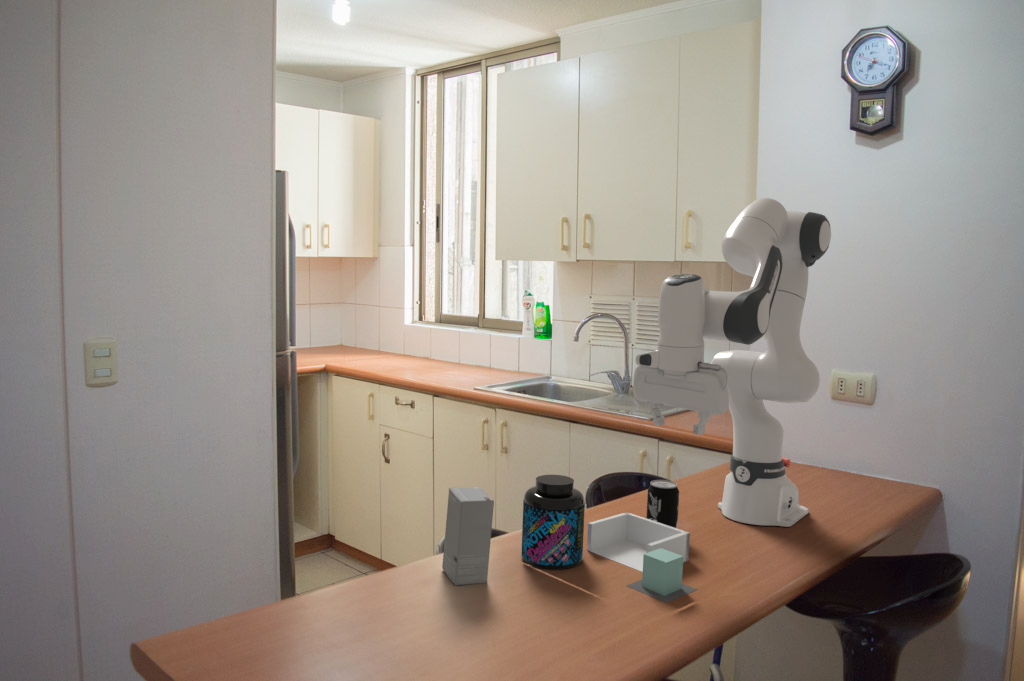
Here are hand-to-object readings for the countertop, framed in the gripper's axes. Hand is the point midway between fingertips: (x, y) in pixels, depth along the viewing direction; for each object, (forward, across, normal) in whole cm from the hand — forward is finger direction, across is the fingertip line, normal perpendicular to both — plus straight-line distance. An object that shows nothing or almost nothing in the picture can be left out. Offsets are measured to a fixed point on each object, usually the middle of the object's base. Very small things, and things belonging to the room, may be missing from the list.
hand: (678, 429), depth 152 cm
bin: (+26, +5, +6) cm, 27 cm away
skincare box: (+25, +18, +38) cm, 49 cm away
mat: (+26, -8, +15) cm, 30 cm away
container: (+26, +14, +20) cm, 36 cm away
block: (+25, -8, +14) cm, 30 cm away
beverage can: (+27, +9, -8) cm, 29 cm away
